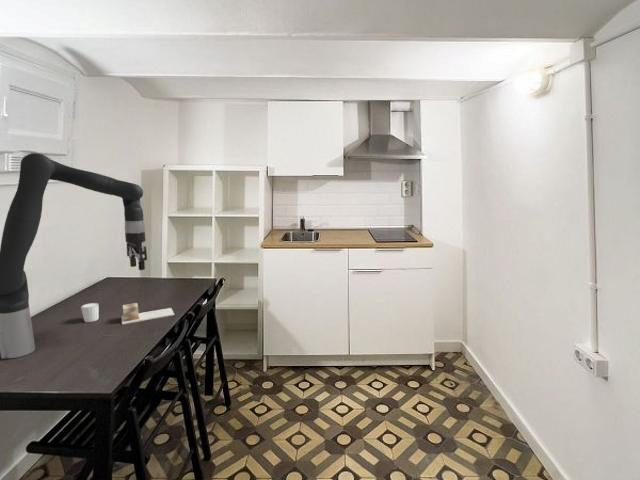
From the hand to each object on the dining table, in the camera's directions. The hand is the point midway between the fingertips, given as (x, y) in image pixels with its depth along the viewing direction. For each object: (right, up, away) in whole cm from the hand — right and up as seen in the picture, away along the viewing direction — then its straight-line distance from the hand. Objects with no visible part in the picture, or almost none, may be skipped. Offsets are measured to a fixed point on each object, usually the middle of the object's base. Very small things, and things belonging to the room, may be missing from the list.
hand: (137, 268), depth 151 cm
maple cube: (-9, -24, +12) cm, 29 cm away
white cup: (-28, -25, +11) cm, 39 cm away
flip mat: (-3, -24, +16) cm, 29 cm away
